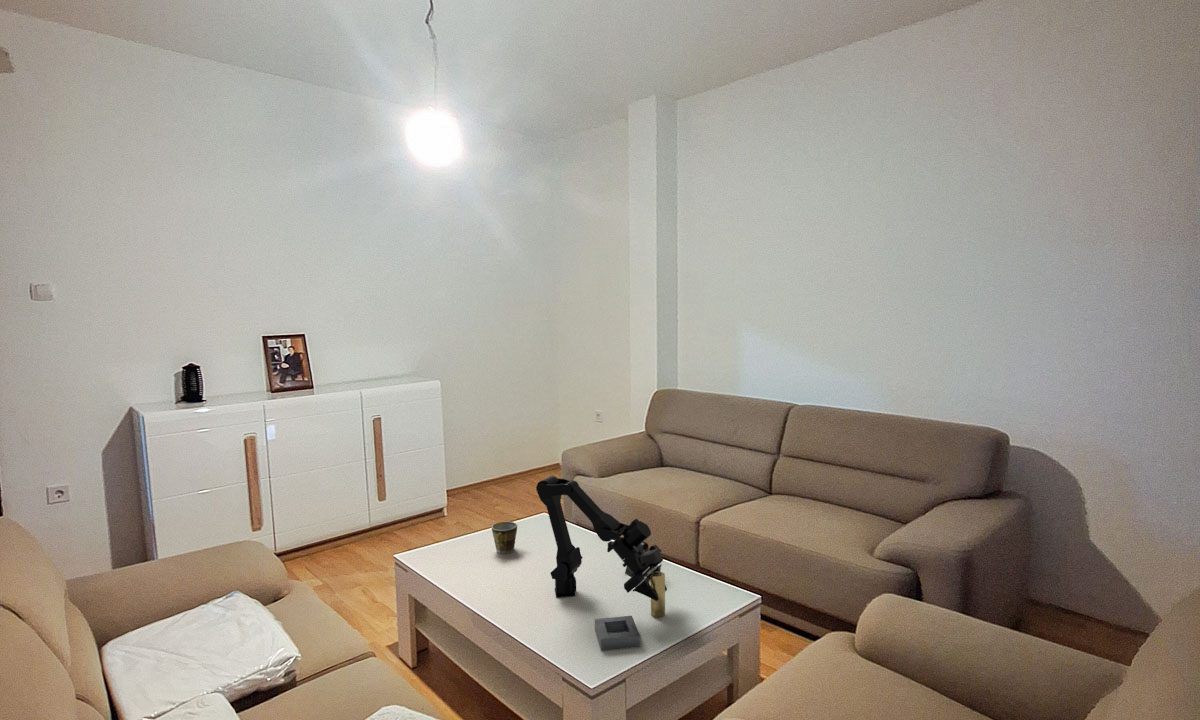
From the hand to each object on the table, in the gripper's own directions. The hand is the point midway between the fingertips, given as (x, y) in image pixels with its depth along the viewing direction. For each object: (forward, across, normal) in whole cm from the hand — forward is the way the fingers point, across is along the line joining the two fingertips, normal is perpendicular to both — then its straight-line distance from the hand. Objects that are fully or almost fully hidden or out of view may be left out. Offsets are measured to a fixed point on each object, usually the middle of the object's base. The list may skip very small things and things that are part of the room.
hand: (661, 595), depth 192 cm
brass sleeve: (+4, 0, +6) cm, 7 cm away
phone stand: (-8, +24, +18) cm, 32 cm away
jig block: (0, -18, +9) cm, 20 cm away
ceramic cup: (-48, +19, +58) cm, 77 cm away
